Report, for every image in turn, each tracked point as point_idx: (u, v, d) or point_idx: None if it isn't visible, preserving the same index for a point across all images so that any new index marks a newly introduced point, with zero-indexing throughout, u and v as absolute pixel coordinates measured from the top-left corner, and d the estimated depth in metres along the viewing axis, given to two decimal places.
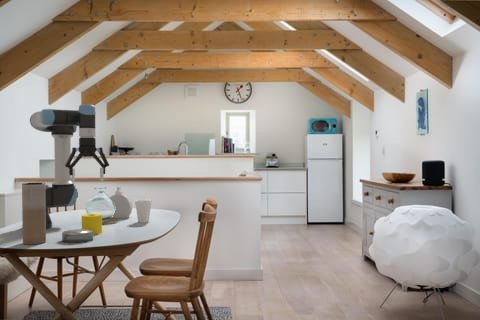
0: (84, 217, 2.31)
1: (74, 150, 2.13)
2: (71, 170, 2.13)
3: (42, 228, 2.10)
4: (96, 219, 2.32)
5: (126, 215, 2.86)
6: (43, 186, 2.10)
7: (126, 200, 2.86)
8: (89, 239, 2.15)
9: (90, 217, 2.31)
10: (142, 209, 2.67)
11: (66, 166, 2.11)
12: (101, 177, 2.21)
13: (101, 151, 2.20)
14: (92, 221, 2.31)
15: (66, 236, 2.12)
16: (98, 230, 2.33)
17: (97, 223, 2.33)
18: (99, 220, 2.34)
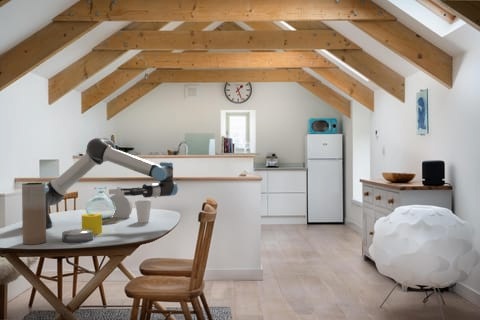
0: (84, 217, 2.31)
1: (144, 194, 2.45)
2: (128, 194, 2.38)
3: (42, 228, 2.10)
4: (96, 219, 2.32)
5: (126, 215, 2.86)
6: (43, 186, 2.10)
7: (126, 200, 2.86)
8: (89, 239, 2.15)
9: (90, 217, 2.31)
10: (142, 209, 2.67)
11: (133, 195, 2.38)
12: (112, 193, 2.48)
13: None
14: (92, 221, 2.31)
15: (66, 236, 2.12)
16: (98, 230, 2.33)
17: (97, 223, 2.33)
18: (99, 220, 2.34)
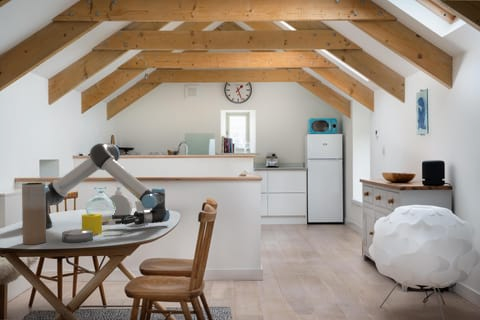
0: (84, 217, 2.31)
1: (136, 222, 2.42)
2: (119, 223, 2.36)
3: (42, 228, 2.10)
4: (96, 219, 2.32)
5: None
6: (43, 186, 2.10)
7: (126, 200, 2.86)
8: (89, 239, 2.15)
9: (90, 217, 2.31)
10: (142, 209, 2.67)
11: (125, 224, 2.35)
12: (103, 220, 2.45)
13: None
14: (92, 221, 2.31)
15: (66, 236, 2.12)
16: (98, 230, 2.33)
17: (97, 223, 2.33)
18: (99, 220, 2.34)
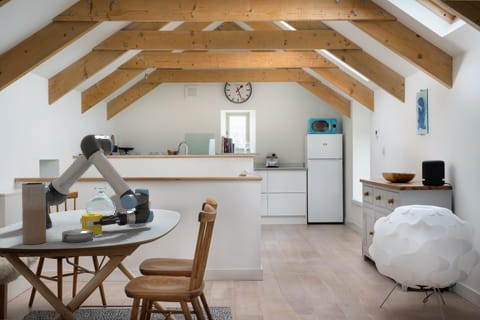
0: (84, 217, 2.31)
1: (116, 223, 2.37)
2: (98, 224, 2.31)
3: (42, 228, 2.10)
4: (96, 219, 2.32)
5: None
6: (43, 186, 2.10)
7: None
8: (89, 239, 2.15)
9: (90, 217, 2.31)
10: None
11: (103, 225, 2.30)
12: None
13: None
14: None
15: (66, 236, 2.12)
16: (98, 230, 2.33)
17: None
18: None
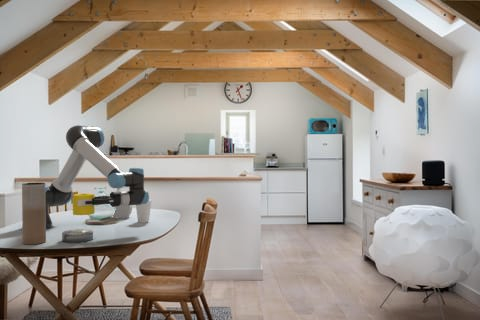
0: (75, 196, 2.18)
1: None
2: (90, 203, 2.18)
3: (42, 228, 2.10)
4: (88, 198, 2.19)
5: (126, 215, 2.86)
6: (43, 186, 2.10)
7: None
8: (89, 239, 2.15)
9: (82, 196, 2.17)
10: (142, 209, 2.67)
11: None
12: None
13: None
14: None
15: (66, 236, 2.12)
16: (90, 210, 2.20)
17: None
18: None
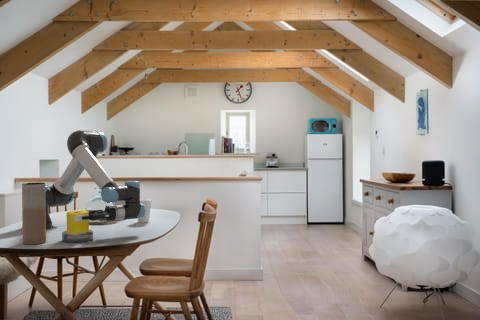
0: (69, 214, 2.13)
1: (106, 218, 2.19)
2: (87, 219, 2.13)
3: (42, 228, 2.10)
4: None
5: None
6: (43, 186, 2.10)
7: None
8: (89, 239, 2.15)
9: (75, 214, 2.13)
10: None
11: (92, 220, 2.12)
12: None
13: None
14: None
15: (66, 236, 2.12)
16: (84, 228, 2.15)
17: (83, 221, 2.15)
18: None
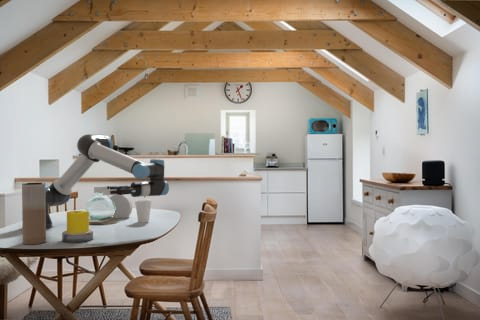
0: (69, 214, 2.13)
1: None
2: (115, 193, 2.20)
3: (42, 228, 2.10)
4: (82, 216, 2.14)
5: (126, 215, 2.86)
6: (43, 186, 2.10)
7: (126, 200, 2.86)
8: (89, 239, 2.15)
9: (76, 214, 2.13)
10: (142, 209, 2.67)
11: (120, 194, 2.19)
12: (98, 191, 2.29)
13: None
14: (78, 218, 2.13)
15: (66, 236, 2.12)
16: (84, 228, 2.15)
17: (83, 221, 2.15)
18: (86, 217, 2.16)
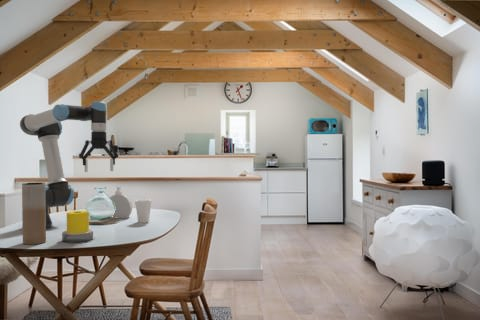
0: (69, 214, 2.13)
1: (87, 143, 2.35)
2: (84, 161, 2.35)
3: (42, 228, 2.10)
4: (82, 216, 2.14)
5: (126, 215, 2.86)
6: (43, 186, 2.10)
7: (126, 200, 2.86)
8: (89, 239, 2.15)
9: (76, 214, 2.13)
10: (142, 209, 2.67)
11: (80, 157, 2.33)
12: (111, 167, 2.43)
13: (111, 144, 2.42)
14: (78, 219, 2.13)
15: (66, 236, 2.12)
16: (84, 228, 2.15)
17: (83, 221, 2.15)
18: (86, 217, 2.16)
